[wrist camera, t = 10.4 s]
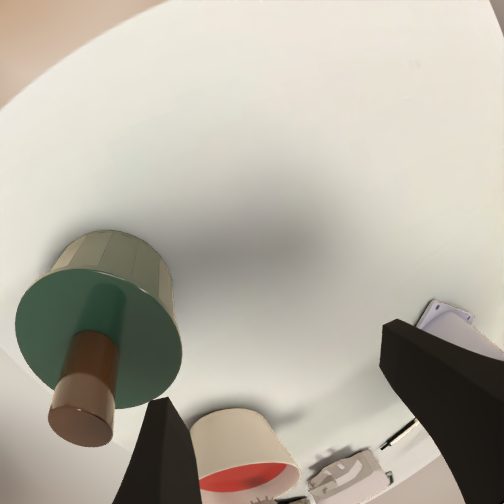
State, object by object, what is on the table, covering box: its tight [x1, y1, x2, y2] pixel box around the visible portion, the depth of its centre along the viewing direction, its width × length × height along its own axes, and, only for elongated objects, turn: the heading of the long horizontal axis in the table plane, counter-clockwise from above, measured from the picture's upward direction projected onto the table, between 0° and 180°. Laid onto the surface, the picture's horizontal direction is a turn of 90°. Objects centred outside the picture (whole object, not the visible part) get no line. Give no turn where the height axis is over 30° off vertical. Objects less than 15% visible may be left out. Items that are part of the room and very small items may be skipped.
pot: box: [50, 230, 175, 319], centre depth 15 cm, size 7×7×5 cm
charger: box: [308, 450, 390, 504], centre depth 32 cm, size 5×9×15 cm
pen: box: [380, 418, 420, 450], centre depth 33 cm, size 1×19×1 cm
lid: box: [15, 265, 182, 447], centre depth 11 cm, size 8×8×6 cm
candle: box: [190, 408, 302, 504], centre depth 22 cm, size 9×9×6 cm
